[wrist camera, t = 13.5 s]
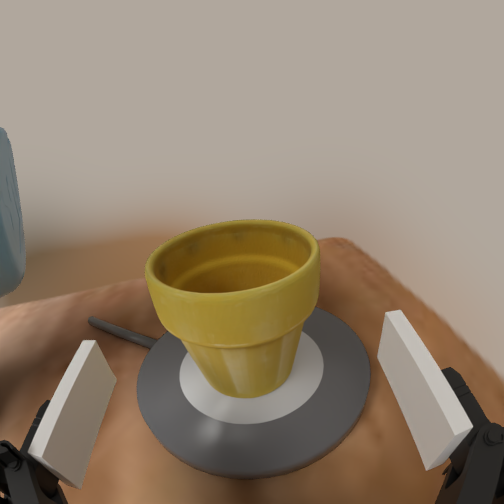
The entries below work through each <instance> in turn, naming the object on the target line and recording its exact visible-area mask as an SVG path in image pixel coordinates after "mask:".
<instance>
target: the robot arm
mask: <svg viewBox="0 0 504 504" xmlns="http://www.w3.org/2000/svg"><path fill="white" fill-rule="evenodd" d="M25 265H26V252H25V239H24V230H23V222H22V213H21V207H20V199H19V191H18V185H17V177H16V172H15V165H14V159H13V153H12V148H11V144H10V141H9V139H8V137H7V133H6V131H5V130H4V129H3V128H1V127H0V298H1V297H3V296H5V295H7V294H9V293H11V292H13V291H14V290H15V289H16V288H17V287H18V286H19V284H20V283H21V281H22V279H23V277H24V273H25ZM377 358H378V360H379V362H380V364H381V366H382V369H383V371H384V373H385V375H386V377H387V379H388V381H389V384H390V386H391V388H392V390H393V392H394V395H395V397H396V399H397V401H398V403H399V406H400V408H401V410H402V413H403V415H404V417H405V420H406V422H407V424H408V427H409V429H410V431H411V434H412V436H413V439H414V441H415V443H416V446H417V448H418V451H419V453H420V456H421V458H422V461H423V464H424V466H425V469H426V471H427V470H430V469H432V468H434V467H437V466H439V465H441V464H443V463H444V462H445V461H446V460H447V459H448V458H450V460H451V462H452V463H451V464H450V465H449V466H448V467H447V468H446V469H445V470H444V472H443V473H442V475H445V474H446V473H447V474H446V477H445V480H444V482H443V485H442V487H441V490H440V492H439V495H438V497H437V500H436V502H435V504H504V427H501V426H500V425H499V424H496V423H491V422H490V421H489V420H488V419H487V417H486V416H485V414H484V412H483V410H482V409H481V407H480V405H479V404H478V402H477V400H476V399H475V397H474V396H473V394H472V393H471V391H470V389H469V388H468V386H466V383H465V381H464V380H463V378H462V377H461V375H460V374H459V373H458V372H457V371H455V370H454V369H453V368H451V367H449V368H446V369H443V370H440V368H439V367H438V365H437V364H436V362H435V360H434V359H433V357H432V356H431V354H430V353H429V351H428V350H427V348H426V347H425V345H424V343H423V342H422V340H421V339H420V337H419V336H418V334H417V333H416V331H415V330H414V329H413V327H412V326H411V324H410V323H409V321H408V320H407V318H406V317H405V315H404V314H403V313H402V311H401V310H396V311H391V312H386V313H385V318H384V324H383V329H382V335H381V340H380V345H379V350H378V355H377ZM116 381H117V379H116V377H115V376H114V374H113V372H112V370H111V368H110V367H109V365H108V363H107V361H106V359H105V357H104V355H103V353H102V351H101V350H100V348H99V346H98V344H97V342H96V340H83V342H82V343H81V345H80V347H79V349H78V350H77V352H76V354H75V356H74V357H73V359H72V361H71V363H70V365H69V367H68V368H67V370H66V372H65V374H64V376H63V378H62V380H61V382H60V384H59V386H58V388H57V390H56V391H55V393H54V395H53V397H52V399H51V401H50V400H47V401H46V402H45V403H44V404H43V405H42V406H41V407H40V408H39V410H38V413H37V415H36V418H35V419H34V421H33V423H32V425H31V427H30V429H29V432H28V434H27V436H26V438H25V440H24V443H23V445H22V447H21V449H20V451H18V450H17V449H16V448H15V447H14V446H13V445H12V444H11V443H10V442H9V441H6V440H3V441H0V491H1V492H2V493H4V498H2V497H0V504H68V502H67V500H66V498H65V496H64V493H63V491H62V488H61V487H60V485H59V484H58V481H59V480H61V481H62V482H63V483H65V484H66V485H68V486H71V487H75V488H78V489H81V487H82V484H83V480H84V477H85V473H86V470H87V467H88V463H89V460H90V457H91V453H92V450H93V447H94V444H95V441H96V438H97V435H98V432H99V429H100V426H101V423H102V420H103V417H104V414H105V411H106V408H107V406H108V403H109V400H110V397H111V395H112V392H113V389H114V386H115V384H116Z"/></svg>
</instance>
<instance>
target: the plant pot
mask: <svg viewBox="0 0 504 504" xmlns="http://www.w3.org/2000/svg"><path fill="white" fill-rule="evenodd" d="M145 278H146V281H147V285H148V289H149V292H150V295H151V299H152V302H153V304H154V307H155V310H156V312H157V315H158V317H159V319H160V321H161V323H162V324H163V326H164V327H165V328H166V329H167V330H168V331H169V332H170V333H171V334H173V335H174V336H176V337H177V338H179V339H181V341H182V343H183V344H184V346H185V347H186V349H187V351H188V352H189V354H190V355H191V357H192V359H193V360H194V362H195V363H196V365H197V366H198V368H199V369H200V371H201V372H202V374H203V375H204V377H205V378H206V380H207V381H208V383H209V384H210V385H211V386H212V387H213V388H214V389H215V390H217V391H218V392H220V393H222V394H224V395H227V396H230V397H235V398H255V397H259V396H263V395H266V394H268V393H270V392H272V391H274V390H275V389H277V388H278V387H280V386H281V385H282V384H283V383H284V382H285V381H286V379H287V378H288V376H289V375H290V373H291V370H292V367H293V363H294V359H295V355H296V351H297V348H298V344H299V340H300V336H301V332H302V328H303V324H304V321H305V320H306V319H307V318H308V317H309V316H310V315H311V313H312V311H313V310H314V308H315V306H316V303H317V300H318V295H319V285H320V248H319V245H318V242H317V240H316V239H315V238H314V237H313V236H312V235H311V234H310V233H309V232H307V231H306V230H304V229H302V228H300V227H298V226H295V225H292V224H289V223H285V222H279V221H272V220H235V221H227V222H221V223H216V224H211V225H206V226H203V227H199V228H196V229H192V230H189V231H187V232H184V233H182V234H179V235H177V236H175V237H173V238H171V239H169V240H168V241H166V242H165V243H163V244H162V245H161V246H159V247H158V248H157V249H156V250H155V251H153V253H152V254H151V255H150V256H149V258H148V259H147V262H146V265H145Z"/></svg>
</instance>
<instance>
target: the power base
mask: <svg viewBox="0 0 504 504" xmlns="http://www.w3.org/2000/svg"><path fill="white" fill-rule="evenodd" d="M88 323H89V324H90V325H92V326H95V327H97V328H99V329H102V330H104V331H106V332H109V333H111V334H114V335H116V336H119V337H121V338H124V339H126V340H129V341H131V342H134V343H137V344H139V345H142V346H145V347H147V348H150V351H149V352H148V354H147V355H146V357H145V359H144V361H143V363H142V365H141V368H140V372H139V375H138V381H137V399H138V404H139V408H140V411H141V413H142V416H143V418H144V420H145V422H146V423H147V425H148V426H149V428H150V429H151V431H152V432H153V434H154V435H155V437H156V438H157V440H158V441H159V442H160V443H161V444H162V445H163V446H164V447H165V448H166V449H167V451H168V452H170V453H171V454H172V455H174V456H175V457H176V458H178V459H179V460H180V461H182V462H184V463H186V464H187V465H189V466H191V467H193V468H195V469H198V470H200V471H203V472H206V473H209V474H212V475H216V476H221V477H227V478H235V479H260V478H270V477H274V476H279V475H283V474H288V473H290V472H293V471H296V470H299V469H301V468H304V467H306V466H308V465H310V464H312V463H314V462H316V461H317V460H319V459H321V458H323V457H324V456H325V455H327V454H328V453H329V452H331V451H332V450H333V449H335V448H336V447H337V446H338V445H339V444H340V443H341V442H342V441H343V440H344V439H345V438H346V437H347V436H348V435H349V433H350V432H351V430H352V429H353V428H354V426H355V425H356V423H357V421H358V419H359V417H360V415H361V413H362V411H363V408H364V405H365V401H366V398H367V394H368V390H369V386H370V375H371V373H370V362H369V359H368V355H367V352H366V350H365V348H364V346H363V343H362V342H361V340H360V339H359V337H358V336H357V335H356V333H355V332H354V331H353V330H352V329H351V328H350V327H349V326H348V325H347V324H345V323H344V322H343V321H342V320H340V319H339V318H337V317H336V316H334V315H332V314H331V313H329V312H327V311H325V310H322V309H320V308H317V307H315V308H314V310H313V311H312V313H311V315H310V316H309V317H308V318H307V319H306V320H305V321H304V324H303V328H302V332H301V336H300V340H299V344H298V348H297V351H296V355H295V359H294V363H293V367H292V370H291V373H290V375H289V376H288V378H287V379H286V381H285V382H284V383H283V384H282V385H281V386H280V387H278V388H277V389H275V390H274V391H272V392H270V393H268V394H266V395H263V396H259V397H255V398H235V397H230V396H227V395H224V394H222V393H220V392H218V391H217V390H215V389H214V388H213V387H212V386H211V385H210V384H209V383H208V381H207V380H206V378H205V377H204V375H203V374H202V372H201V371H200V369H199V368H198V366H197V365H196V363H195V362H194V360H193V359H192V357H191V355H190V354H189V352H188V351H187V349H186V347H185V346H184V344H183V343H182V341H181V339H179V338H177V337H176V336H174V335H173V334H171V333H170V332H169V331H167V332H166V333H165V334H164V335H163V336H162V337H161V338H160V339H159V340H155V339H152V338H149V337H147V336H144V335H141V334H138V333H135V332H132V331H129V330H127V329H124V328H121V327H119V326H116V325H113V324H111V323H108V322H105V321H103V320H100V319H98V318H95V317H93V316H91V317H89V318H88Z"/></svg>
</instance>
